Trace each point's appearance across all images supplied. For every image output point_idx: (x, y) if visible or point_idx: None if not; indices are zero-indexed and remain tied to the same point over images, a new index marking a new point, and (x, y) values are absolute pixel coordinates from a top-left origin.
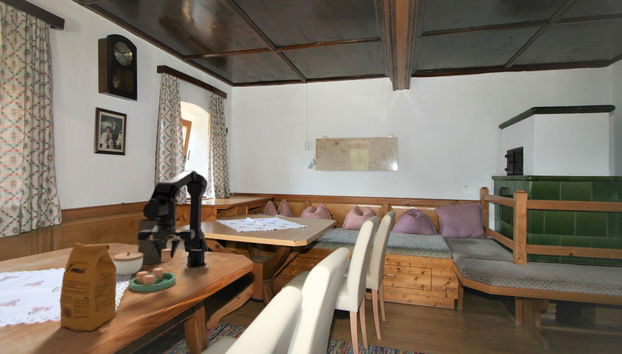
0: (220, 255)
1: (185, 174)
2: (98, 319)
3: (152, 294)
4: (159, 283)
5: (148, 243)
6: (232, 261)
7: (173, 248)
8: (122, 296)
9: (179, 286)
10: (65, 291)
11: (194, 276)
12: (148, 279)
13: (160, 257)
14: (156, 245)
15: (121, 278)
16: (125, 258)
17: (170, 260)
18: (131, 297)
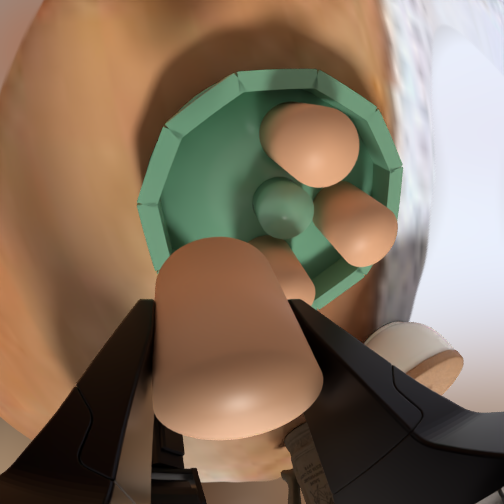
0: None
1: None
2: None
3: (249, 50)
4: (225, 101)
5: None
6: (39, 426)
7: (83, 405)
8: (391, 76)
9: (110, 165)
10: None
11: (88, 315)
12: (315, 105)
13: (296, 303)
14: (438, 415)
15: (405, 304)
16: (440, 365)
17: (160, 272)
18: (351, 43)
